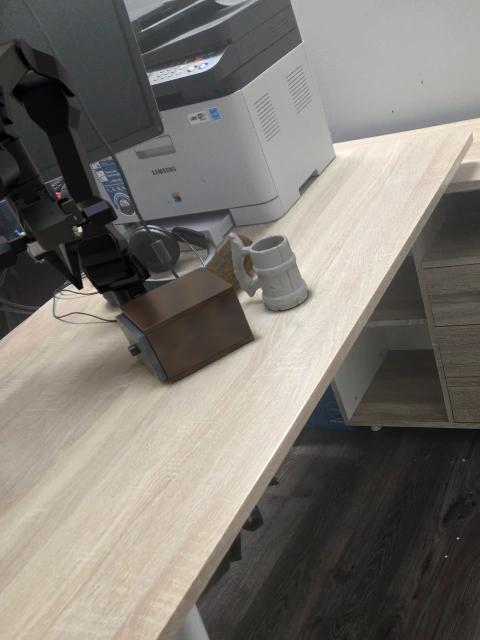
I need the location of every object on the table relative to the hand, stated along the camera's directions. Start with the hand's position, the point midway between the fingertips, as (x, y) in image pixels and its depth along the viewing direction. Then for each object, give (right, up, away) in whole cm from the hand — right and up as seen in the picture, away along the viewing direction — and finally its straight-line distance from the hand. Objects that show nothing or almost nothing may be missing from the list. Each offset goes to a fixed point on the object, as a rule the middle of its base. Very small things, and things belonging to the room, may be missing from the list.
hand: (80, 288), depth 98 cm
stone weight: (+19, +7, +21) cm, 29 cm away
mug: (+28, +2, +12) cm, 30 cm away
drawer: (+14, -8, +5) cm, 17 cm away
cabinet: (+16, -8, +6) cm, 19 cm away
